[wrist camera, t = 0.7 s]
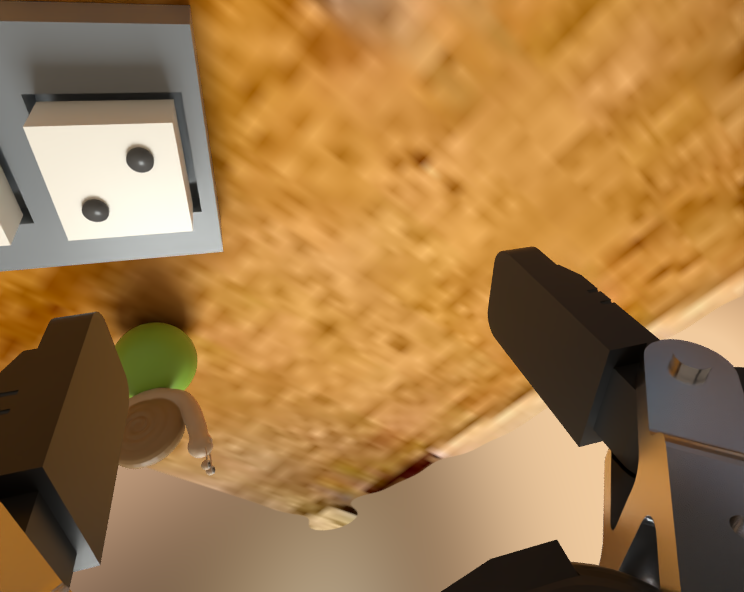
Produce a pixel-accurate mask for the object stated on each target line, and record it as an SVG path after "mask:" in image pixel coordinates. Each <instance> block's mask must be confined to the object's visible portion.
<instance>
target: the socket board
mask: <svg viewBox="0 0 744 592" xmlns="http://www.w3.org/2000/svg"><path fill="white" fill-rule="evenodd" d="M163 99H174V104H175V109H176V115H177V120H178V126H179V131H180V137H181V142H182V148H183V153H184V159H185V164H186V169H187V175H188V180H189V186H190V191H191V197H192V202H193V231H188V232H175V233H162V234H150V235H137V236H124V237H111V238H98V239H85V240H72V241H68V238H67V236H66V233H65V231H64V228H63V226H62V223H61V221H60V218H59V216H58V213H57V211H56V208H55V206H54V203H53V201H52V198H51V196H50V193H49V191H48V188H47V186H46V183H45V181H44V178H43V176H42V173H41V171H40V168H39V166H38V163H37V161H36V158H35V156H34V153H33V151H32V148H31V146H30V144H29V141H28V139H27V136H26V134H25V131H24V129H23V126H24V124H25V122H26V120H27V118H28V116H29V114H30V112H31V111H32V109H33V107H34V105H35V103H36V102H45V101H104V100H163ZM0 165H1V168H2V170H3V172H4V174H5V176H6V178H7V181H8V183H9V185H10V187H11V189H12V192H13V194H14V196H15V198H16V200H17V203H18V205H19V207H20V209H21V211H22V213H23V217H22V219H21V222H20V224H19V226H18V229H17V231H16V234H15V236H14V239H13V241H12V243H11V245H8V246H0V271H10V270H21V269H33V268H44V267H55V266H67V265H78V264H89V263H101V262H112V261H123V260H134V259H146V258H157V257H168V256H180V255H191V254H202V253H213V252H223V243H222V230H221V219H220V212H219V205H218V198H217V191H216V184H215V177H214V171H213V164H212V157H211V150H210V143H209V136H208V129H207V122H206V115H205V108H204V101H203V94H202V87H201V80H200V73H199V66H198V59H197V52H196V45H195V38H194V31H193V24H192V17H191V10H190V5H159V4H121V3H83V2H44V1H6V0H0Z"/></svg>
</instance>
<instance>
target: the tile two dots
mask: <svg viewBox="0 0 744 592" xmlns="http://www.w3.org/2000/svg"><path fill="white" fill-rule="evenodd" d="M23 129H24V131H25V134H26V136H27V139H28V141H29V144H30V146H31V148H32V151H33V153H34V156H35V158H36V161H37V163H38V166H39V168H40V171H41V173H42V176H43V178H44V181H45V183H46V186H47V188H48V191H49V193H50V196H51V198H52V201H53V203H54V206H55V208H56V211H57V213H58V216H59V218H60V221H61V223H62V226H63V228H64V231H65V233H66V236H67V238H68V241H72V240H85V239H98V238H111V237H124V236H137V235H150V234H162V233H175V232H188V231H193V202H192V197H191V191H190V186H189V180H188V175H187V169H186V164H185V159H184V153H183V148H182V142H181V137H180V131H179V126H178V120H177V115H176V109H175V104H174V99H163V100H104V101H45V102H36V103H35V105H34V107H33V109H32V111H31V112H30V114H29V116H28V118H27V120H26V122H25V124H24V126H23Z"/></svg>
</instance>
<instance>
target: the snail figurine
mask: <svg viewBox="0 0 744 592" xmlns="http://www.w3.org/2000/svg"><path fill="white" fill-rule="evenodd" d="M115 348H116V351H117V353H118V356H119V358H120V361H121V364H122V366H123V369H124V371H125V374H126V378H127V382H128V387H129V397H130V398H129V409H128V414H127V420H126V425H125V431H124V436H123V442H122V448H121V453H120V459H119V464H118V465H120V466H122V467H125V468H130V469H139V468H144V467H148V466H151V465H153V464H155V463H157V462H159V461H161V460H162V459H164V458H165V457H167V456H168V455H169V454H170V453H171V452H172V451H173V450H174V449H175V448H176V446H177V445H178V444H179V442H180V440H181V438H182V436H183V434H184V431H185V425H186V428H187V431H188V434H189V443H188V451H189V453H190V454H191V455H192V456H193V457H195V458H203V457H205V456H206V460H205V461H203V462H202V464H201V467H202V469H204V470H206V473H207V474H208V475H213V474H214V473H215V467H214V466H213V465H212V460H211V454H210V452H211V451H212V449H213V444H212V438H211V437H210V435H209V434H208V430H207V425H206V422H205V419H204V416H203V413H202V411H201V408H200V406H199V404H198V403H197V401H196V400H195V398H194V397H193V396H192V395H191V394H190V393H188V392H186V391H184V390H185V389H186V388H187V387H188V385H189V384H190V383H191V381H192V379H193V377H194V375H195V372H196V369H197V353H196V349H195V347H194V344H193V343H192V341H191V339H190V338H189V337H188V336H187V335H186V334H185V333H184V332H183V331H182V330H180V329H179V328H177V327H175V326H172V325H170V324H166V323H158V322H154V323H146V324H142V325H139V326H137V327H135V328H133V329H131V330H129V331H128V332H127V333H125V334H124V335H123V336H122V337H121V338H120V340H119V341H118V342H117V344H116V345H115ZM207 455H209V456H210V461H209V460H207Z"/></svg>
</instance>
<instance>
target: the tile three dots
mask: <svg viewBox="0 0 744 592" xmlns="http://www.w3.org/2000/svg"><path fill="white" fill-rule="evenodd" d="M22 217H23V213H22V211H21V209H20V207H19V205H18V203H17V200H16V198H15V196H14V194H13V192H12V189H11V187H10V185H9V183H8V181H7V178H6V176H5V174H4V172H3V170H2V168H1V165H0V246H8V245H11V243H12V241H13V239H14V236H15V234H16V231H17V229H18V226H19V224H20V222H21V219H22Z"/></svg>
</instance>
